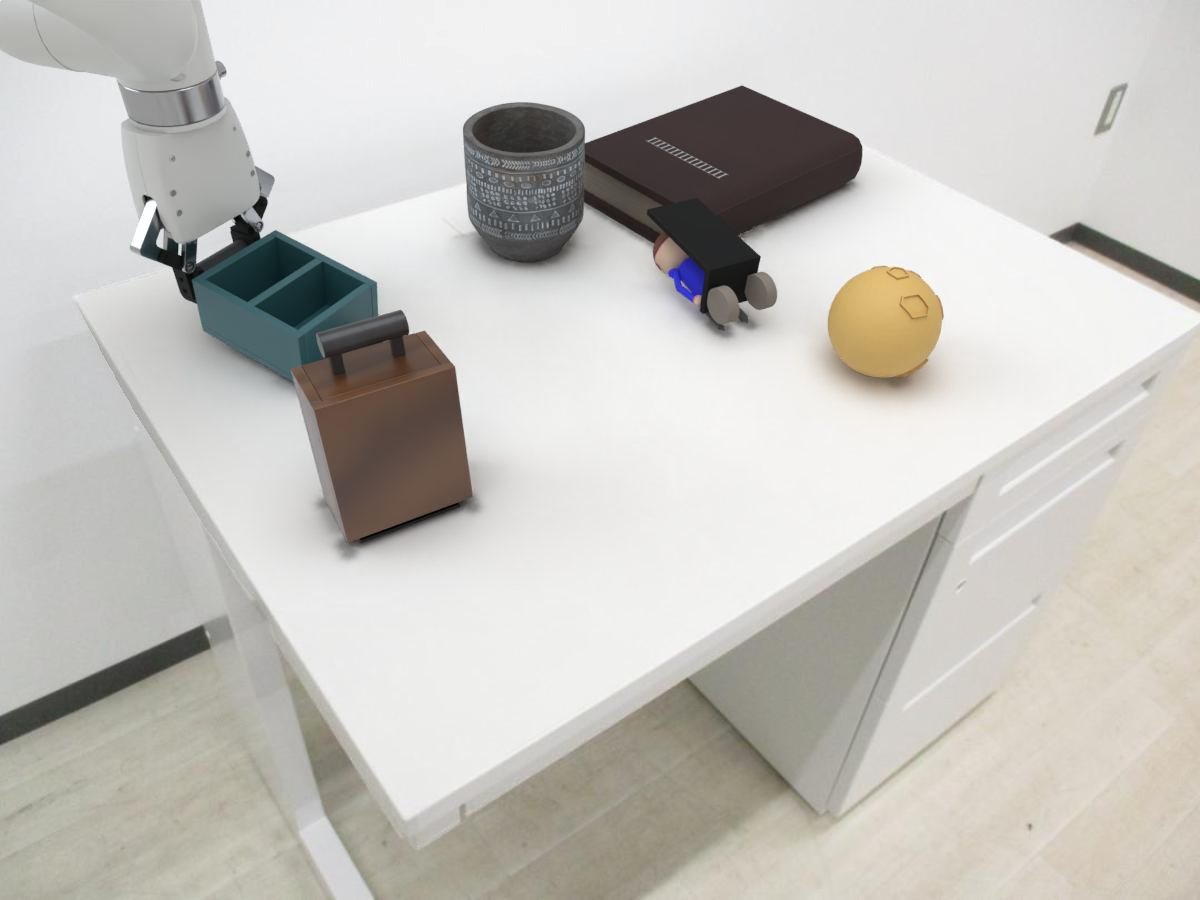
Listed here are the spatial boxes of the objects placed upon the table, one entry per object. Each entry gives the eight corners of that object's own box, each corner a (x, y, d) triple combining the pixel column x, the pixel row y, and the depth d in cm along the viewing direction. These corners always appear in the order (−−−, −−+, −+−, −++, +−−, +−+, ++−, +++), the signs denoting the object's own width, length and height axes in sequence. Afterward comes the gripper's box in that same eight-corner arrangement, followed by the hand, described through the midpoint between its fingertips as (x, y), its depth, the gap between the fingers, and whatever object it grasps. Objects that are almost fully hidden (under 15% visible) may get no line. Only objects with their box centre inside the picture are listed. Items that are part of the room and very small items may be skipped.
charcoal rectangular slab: (460, 506, 74) (459, 504, 73) (360, 543, 71) (360, 540, 70) (430, 459, 77) (430, 456, 77) (335, 492, 74) (334, 489, 74)
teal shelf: (176, 316, 87) (164, 264, 83) (257, 266, 93) (249, 216, 89) (304, 388, 83) (298, 338, 79) (379, 331, 89) (377, 282, 85)
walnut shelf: (450, 326, 64) (418, 291, 68) (303, 368, 60) (279, 328, 64) (473, 497, 73) (444, 457, 77) (347, 543, 69) (324, 498, 73)
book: (693, 266, 100) (698, 216, 96) (573, 195, 110) (573, 147, 106) (855, 186, 114) (867, 140, 110) (736, 129, 124) (742, 85, 120)
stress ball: (875, 413, 83) (904, 320, 76) (796, 356, 89) (816, 265, 82) (948, 374, 88) (981, 283, 81) (868, 322, 93) (893, 232, 87)
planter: (528, 285, 96) (525, 168, 87) (446, 242, 102) (436, 127, 93) (606, 240, 103) (610, 127, 94) (525, 201, 109) (522, 91, 100)
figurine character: (771, 337, 93) (687, 249, 101) (789, 277, 88) (699, 188, 95) (715, 357, 91) (634, 265, 99) (730, 297, 85) (643, 204, 93)
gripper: (220, 51, 83) (264, 233, 95) (49, 123, 72) (123, 317, 84) (285, 71, 81) (321, 254, 93) (117, 148, 69) (183, 345, 82)
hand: (226, 283), depth 89 cm, fingers closed on teal shelf, 6 cm apart
